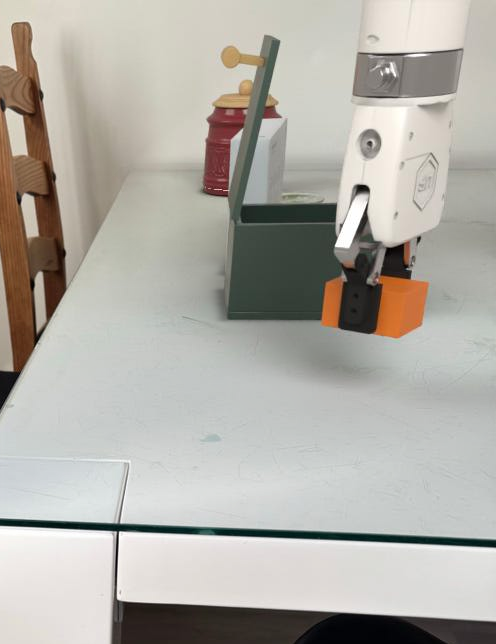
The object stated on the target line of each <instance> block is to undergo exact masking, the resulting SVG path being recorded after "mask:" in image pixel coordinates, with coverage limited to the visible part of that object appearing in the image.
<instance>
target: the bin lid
mask: <svg viewBox="0 0 496 644" xmlns="http://www.w3.org/2000/svg"><path fill="white" fill-rule="evenodd" d="M280 47H281V40H280V39H279V38H277V37H275V36H273V35H271V34H270V35H269V34H264V35H263V38H262V43H261V48H260V51H259V55H255V54H247V53H241V52H240V51H239V49H238V48H237V47H236V46H234V45H227V46H225V47H224V48H223V49H222V51H221V53H220V59H221V63H222V64H223V66H224V67H225V68H227V69H234V68H236V67H237V66H238V65H239V64H240V65H241V64H242V65H246V66H247V65H248V66H255V67H256V70H255V75H254V78H253V87H252V92H251V96H250V101H249V105H248V110H247V114H246V118H245V123H244V127H243V132H242V136H241V141H240V145H239V150H238V154H237V159H236V163H235V167H234V172H233V176H232V181H231V185H230V190H229V194H228V196H227V205H228V204H229V209H230V214H231V219H232V220H237V221H238V220H239V217H240V213H241V209H242V204H243V200H244V196H245V192H246V187H247V183H248V179H249V174H250V170H251V166H252V162H253V157H254V153H255V149H256V144H257V140H258V136H259V132H260V127H261V123H262V119H263V114H264V110H265V106H266V102H267V97H268V94H270V93H269V92H270V88H271V83H272V80H273V76H274V72H275V67H276V63H277V59H278V54H279V50H280Z"/></svg>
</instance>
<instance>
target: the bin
mask: <svg viewBox="0 0 496 644" xmlns="http://www.w3.org/2000/svg"><path fill="white" fill-rule="evenodd" d="M337 203H338V202H321V203H268V204H242V209H241V213H240V217H239V220H238V221H237V220H232V219H231V214H230V217H229V231H228V244H227V257H226V256H225V265H226V270H225V269H224V285H223V286H224V287H223V293H224V302H225V311H226V319H227V320H322V313H323V304H324V295H325V286H326V283H327V282H329V281H331V280H333V279H336V278H338V277H340V276H341V274H342V267H341V263H340V261H339V260H338V258H337V257H336V256H335V254H334V247H335V244H336V242H337V239H338V237H337V235H336V213H337ZM360 241H366V242H375V243H377V241H374V238H373V235H372V234H367V235H365V236H362V237H361V238H360ZM360 252H361V253H364V254H366V255H367V258H368V260H369V263H370V261H371V257H372V253H373V251H372V250H364V249H360Z"/></svg>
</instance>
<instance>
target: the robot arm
mask: <svg viewBox="0 0 496 644" xmlns="http://www.w3.org/2000/svg"><path fill="white" fill-rule="evenodd" d="M472 3H473V0H362V7H361V15H360V23H359V31H358V32H359V33H358V39H357V49H356V52H357V53H356V57H355V66H354V75H353V83H352V84H353V85H352V91H351V92H352V94H351V98H350V99H351V100H350V102H351V103H352V104H355V106H354V108H353V114H352V118H351V122H350V126H349V127H350V128H349V131H348V136H347V141H346V145H345V152H344V157H343V163H342V168H341V175H340V182H339V187H338V195H337V202H336V203H337V213H336V235H337V237H338V239H337V242H336V244H335V247H334V254H335V256H336V257H337V258H338V260H339V261H340V263H341V267H342V274H341V280H342V281H343V288H342V296H341V304H340V312H339V320H338V327H339V328H338V329H339V330H340V331H341V330H342V331H347V332H353V333H358V334H365V335H373V334H372V333H374V332H375V331H376V329H377V322H378V315H379V308H380V301H381V294H382V287H383V284H380V283H378V280H379V277H380V276H387V277H395V278H402V279H409V280H412V272H413V270H412V269H413V268H414V266H415V264H416V262H417V261H416V260H417V247H418V245H419V243H420V242H421V240H422V236H423V235H426V234H427V233H429V232H431V231H433V230H434V229H435V228H436V227H437V226H438V225H439V224H440V223H441V220H442V217H443V211H444V205H445V199H446V191H447V182H448V175H449V167H450V157H451V148H452V137H453V121H454V119H453V118H454V101H455V100H457V94H458V86H459V80H460V75H461V69H462V63H463V57H464V51H465V49H464V48H465V46H466V39H467V35H468V28H469V21H470V15H471V11H472V5H473V4H472ZM367 234H372V235H373V238H374V241H377V243H375V242H366V241H360V238H361V237H362V236H365V235H367ZM360 249H364V250H372V251H373V253H372V257H371V261H370V263H369V260H368V258H367V255H366V254H364V253H361V252H360Z"/></svg>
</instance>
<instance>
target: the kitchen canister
mask: <svg viewBox="0 0 496 644" xmlns="http://www.w3.org/2000/svg"><path fill="white" fill-rule="evenodd" d="M253 83H254V81H252V79H243V80H242V81H241V82H240V83H239V85H238V92H236V93H234V92H233V93H226V94H225V93H224V94H221V95H220V96H219V98H217V99H216V100H215V101H213V102H211V106H213V107H214V108H213V111H212V113H211V114H210V115H208V116H207V117H206V119H205V120H206V122H207V123H208V131H207V137H206V138H205V139H204V142H205V148H204V149H205V152H204V167H203V175H202V186H203V188H202V189H203V192H204V193H206V194H210V195H216V196H227V197H228V193H229V191H223V190H229V172H230V148H231V139H232V138H233V137H234V136H235V135H236V134H237V133H238V132H240V131H241V130H242V129H243V127H244V123H245V118H246V114H247V110H248V105H249V101H250V96H251V92H252V87H253ZM279 103H280V102H279V101H278V100H277V99H276V98H274V97H273V95H272V93H271V94H270V93H268V97H267V102H266V106H265V110H264V114H263V119H273V118H283V116H282V115H281V114H280V113H279V112H278V111H277V108H276V106H278V105H279ZM205 187H206V188H205ZM208 188H211V189H208ZM214 189H222V190H214Z"/></svg>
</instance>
